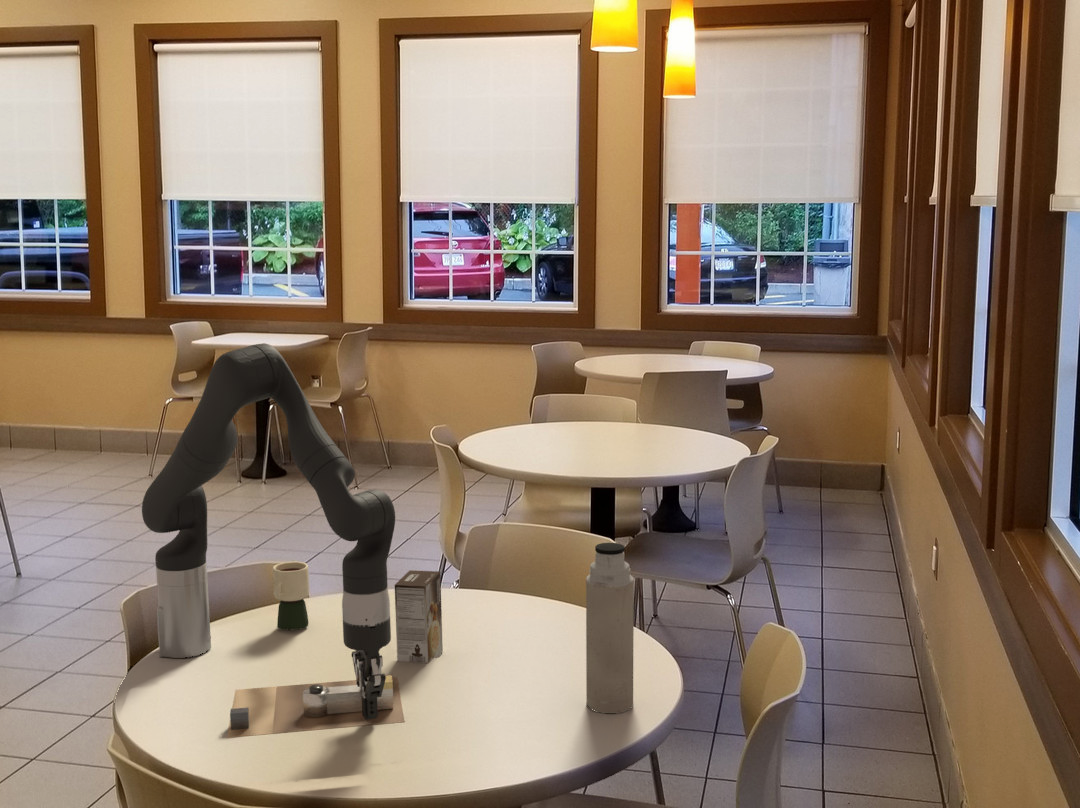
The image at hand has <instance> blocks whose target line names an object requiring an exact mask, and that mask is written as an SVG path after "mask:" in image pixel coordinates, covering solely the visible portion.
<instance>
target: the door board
mask: <svg viewBox="0 0 1080 808" xmlns="http://www.w3.org/2000/svg"><path fill="white" fill-rule="evenodd" d="M392 682H393V709H382V710H378V716H377V718H375V719H369V720H366V719H365V718H364V717H363V715H362V711H359V712H347V713H336V714H327V715H325V716H321V717H308V716H306V715H304V711H303V691H304V690H305V689H307V688H309V687H310V686H311V685H315V684H320V685H322V686H323V687H338V686H350V685H357V681H356V679H352V680H341V681H340V680H339V681H329V682H328V681H327V682H315V683H314V682H313V683H303V684H302V683H301V684H291V685H290V684H288V685H279V686H277V685H276V686H266V687H253V688H242V689H240V688H239V689H235V691H234V692H235V693H234V698H233V704H232V708H231V709H235V708H247V707H249V723H250V724H249V728H248V729H236V730H231V722H230V721H229V726H228V731H227V736H226V739H228V738H229V739H230V738H240V737H241V738H242V737H252V736H265V735H274V734H286V733H298V732H299V733H300V732H307V731H319V730H320V731H321V730H332V729H343V728H344V729H345V728H355V727H366V726H376V725H386V724H399V723H405V716H404V710H403V705H402V699H401V693H400V692H401V691H400V687H399V679H398V676H392Z"/></svg>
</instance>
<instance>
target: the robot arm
mask: <svg viewBox="0 0 1080 808" xmlns="http://www.w3.org/2000/svg"><path fill="white" fill-rule="evenodd" d="M270 398H271V399H272V400H273V401H274V402H275V403H276V404H277V405H278V406H279V408H280V409H281V410H282V412H283V414H284V416H285V421H286V424H287V439H288V448H289V453H290V456H291V458H292V460H293V463H294V464H295V466H296V467H297V469H298V470H299V471H300V473H301V474H302V476H303V477H304V478H305V479H306V481H307V482H308V483H309V485H310V486H311V488H313V490H314V491H315V493H316V495H317V497H318V500H319V502H320V503H319V504H320V506H321V508H322V511H323V513H324V515H325V518H326V521H327V523H328V526H329V527H330V529H331V530H332V531H333V532H334V534H335V535H336V536H337V537H339V538H341V539H342V540H345V541H348V542H356V545H355V546H354V547H353V549H351V550H350V551H348V553H346V554H345V556H344V557H343V559H342V564H341V565H342V567H341V568H342V569H341V570H342V601H341V602H342V604H341V609H342V629H343V630H342V633H343V634H342V636H343V644H344V646H345V647H346V648H347V649H350V650H353V651H351V659H352V665H353V668H354V673H355V680H356V681H357V686H358V687H360V690H359V692H360V694H361V695H362V715H363V717H364V718H365V719H366V720H369V719H375V718H377V716H378V710H377V697H381V695H382V692H383V688H384V684H385V679H386V676H387V675H385V673H382V668H383V667H384V658H383V655H381V654H380V650H381V649H382V648H384V647H386V646H387V645H389V644H390V642H391V640H392V634H391V631H392V630H391V628H392V627H391V605H390V604H391V603H390V601H391V600H390V594H389V589H388V587H389V586H388V564H387V563H388V557H389V554H390V550H391V546H392V540H393V537H394V536H393V535H394V532H395V525H396V511H395V506H394V504H393V500H392V499H391V498H390V496H389V495H388V493H386V492H384V491H383V490H381V489H376V488H375V489H368V490H364V491H362V492H359V493H355V494H352V493H351V492H350V490H349V488H348V487H350V485H351V484H352V483H353V481H354V479H355V476H356V472H355V469H354V466H353V465H352V464H351V462H350V461H349V459H348V458H347V457H346V456H345V454H344V453H343V452H342V451H341V450H340V448H339V447H338V445H337V444H336V443H335V441H334V440H333V439H332V438H331V437H330V436H329V435H328V434H329V433H327V431H326V430H325V429H324V427H323V426H322V424H321V422H320V421H319V419H318V417H317V416H316V413H315V412H314V410H313V408H312V407H311V403H310V402H309V400H308V398H307V397H306V394H305V393H304V391H303V389H302V388H301V386H300V384H299V382H298V380H297V379H296V377H295V375H294V374H293V372H292V370H291V368H290V366H289V365H288V363H287V361H286V360H285V358H284V357H283V355H281V353H280V352H279V351H278V349H276V347H274V346H272V345H271V344H268V343H265V342H264V343H257V344H251V345H248V346H244V347H241V348H236V349H234V350H233V349H232V350H230V351H227V352H225V353H223V354H221V355H219V357H218V358H217V359H216V360H215V361H214V363H213V365H212V368H211V370H210V372H209V375H208V377H207V381H206V383H205V386H204V390H203V393H202V395H201V398H200V399H199V401H198V404H197V406H196V408H195V410H194V412H193V415H192V417H191V418H190V420H189V422H188V424H186V427H185V428H184V430H183V432H182V434H181V436H180V438H179V440H178V441H177V444H176V447H175V449H174V450H173V452H172V453H171V455H170V457H169V459H168V460H167V461H166V463H165V465H164V467H162V470H161V471H160V472H159V473H158V475H157V476H156V477H155V479H154V480H153V481H152V482H151V483H150V485H149V487H148V488H147V490H146V491H145V494H144V496H143V499H142V502H141V503H142V504H141V515H142V519H143V523H144V525H145V526H146V528H147V529H149V531H151V532H154V533H157V534H158V533H159V534H164V533H165V534H166V533H173V532H177V531H178V533H177V535H176V536H175V537H174V538H172V540H171V541H169V542H168V543H167V544H165V545H163V546H162V547H160V548H159V549H158V550H157V551H156V553H155V555H154V557H155V559H154V560H155V572H156V573H155V574H156V575H155V576H156V584H157V588H156V589H157V601H158V605H157V608H156V617H157V618H156V619H157V620H156V621H157V622H156V623H157V635H158V637H157V638H158V650H159V657H160V658H161V657H166V658H171V659H172V658H173V659H186V658H185V657H187V658H192V656H193V657H197V656H201V655H203V654H205V653H207V652H208V651H210V650H211V648H212V635H211V621H210V617H211V616H210V605H209V604H210V603H209V586H208V569H207V568H208V567H207V551H208V503H207V496H206V492H205V490H204V487H203V485H205V484H207V482H210V481H211V480H212V479H214V477H215V478H216V477H217V476H218V475H219V473H221V472H222V470H223V469H224V468H225V467H226V465H228V462H229V461H230V459H231V458H232V456H233V454H234V452H235V450H236V448H237V445H238V441H239V438H238V431H237V428H236V425H235V423H234V422H233V419H234V417H235V415H236V414H237V413H238V411H240V410H241V409H242V408H243V407H246V406H248V405H250V404H253V403H258V402H260V401H264V400H267V399H270ZM209 649H210V650H209ZM207 650H208V651H207ZM206 651H207V652H206ZM202 653H203V654H202ZM200 654H201V655H200Z"/></svg>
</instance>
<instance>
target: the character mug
mask: <svg viewBox="0 0 1080 808" xmlns="http://www.w3.org/2000/svg"><path fill="white" fill-rule="evenodd" d="M308 565H309V564H307V563H305V562H301V561H286V562H281V563H280V562H279V563H278V564H275V565H273V566H272V582H273V586H274V587H273V592H272V593H273V596H274V598H275V599H276V600H279V604H278V610H277V611H278V612H277V626H276V628H277V629H278V630H288V631H289V630H290V631H291V630H301V629H306V627H308V626H309V622H310V621H309V617H308V609H307V605H306V601H305V600H304V599H306V598H308V597H309V596H310V579H309V578H310V576H309V575H310V574H309V566H308Z"/></svg>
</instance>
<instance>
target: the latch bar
mask: <svg viewBox="0 0 1080 808" xmlns="http://www.w3.org/2000/svg"><path fill="white" fill-rule="evenodd" d="M385 676H386V679H385V684H384V688H383V692H382V695H381V697H377V710H382V709H393V682H392V677H393V675H385ZM359 690H360V687H358V686H357V685H350V686H338V687H323V686H322V685H320V684H315V685H311V686H310V687H309V688H307V689H305V690H304V691H303V711H304V715H306V716H308V717H321V716H325V715H327V714H336V713H347V712H359V711H362V695H361V694H360V692H359Z"/></svg>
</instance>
